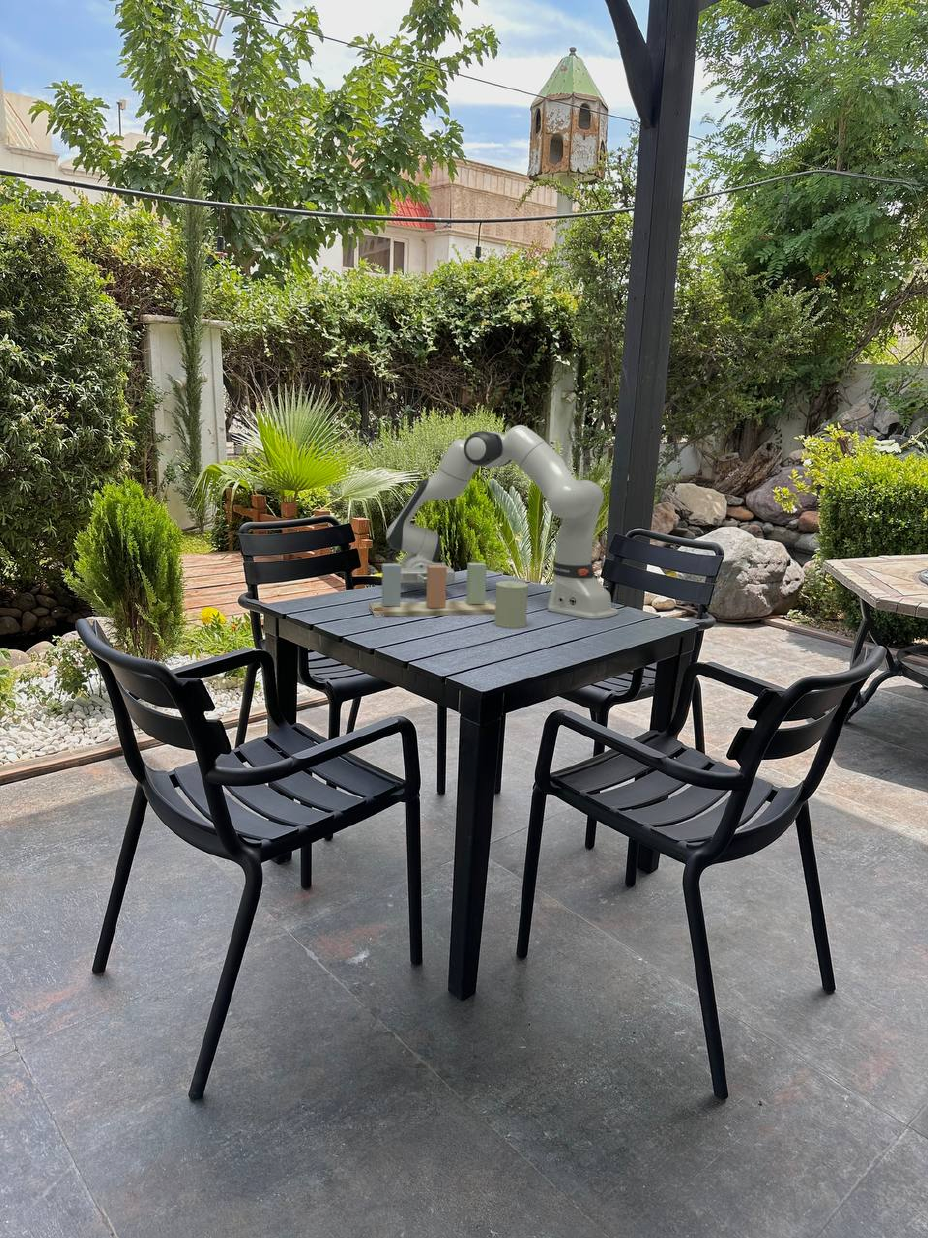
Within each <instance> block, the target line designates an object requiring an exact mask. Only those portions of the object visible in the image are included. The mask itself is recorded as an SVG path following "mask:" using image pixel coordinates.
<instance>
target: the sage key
mask: <svg viewBox="0 0 928 1238" xmlns="http://www.w3.org/2000/svg"><path fill="white" fill-rule="evenodd" d="M466 566H467V567H466V593H465V595H466V597H465V599H466V600H465V601H466V602H467V603H468V604H485V600H486V594H487V593H486V592H487V566H488V565H487V564H486V563H485V562H467V565H466Z"/></svg>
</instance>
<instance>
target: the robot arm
mask: <svg viewBox="0 0 928 1238" xmlns="http://www.w3.org/2000/svg"><path fill="white" fill-rule="evenodd" d="M512 462H514V464H516V465H517V466H518V468H519V469H520V470H521V471H522V472H523V473H524V475H526V476H527V477H528V478H529V479H530V480H531V481H532V482H533V483H534V484H535V486H536V487H537V488H538V489H539V490H540V492H541V493H542V495H543V496H544V498H545V499H546V501H547V503H548V507H549V509H550V512H551V513H552V514H553V515H554V516H556V517H558V518H560V519H562V520H561V525H560V528H559V530H558V532H557V534H556V539H555V555H554V556H555V557H554V561H553V565H552V574H553V580H552V586H551V590H550V595H549V597H548V598H549V599H548V602H547V604H546V606H547V611H549V612H553V613H558V614H563V615H568V616H573V617H578V618H584V619H589V620H590V619H591V620H592V619H593V620H596V619H605V618H609V617H614V616H616V615H618V614H619V610H618V609H616V608H614V607H612V600H611V594H610V592H609V591H608V590H607V589H606V588H605V587H604V585H602V583H601V582H600V581H599V579H597V577H595V576H596V574H595V573H596V572H598V569H599V568H598V567H594V566H593V563H592V556H593V554H592V553H593V542H594V535H595V532H596V531H595V530H596V528H597V527H596V526H597V523H598V519H599V514H600V510H601V507H602V505H603V503H604V499H605V498H604V497H605V495H604V491H603V489H602V488H601V486H600V485H598V484H597V483H596V482H594V481H591V480H589V479H588V480H587V479H582V480H578V479H576V478H575V477H574V475H573V474H572V473H571V472H570V470H569V469H568V467H567V466H566V462H565V460H564V459H563V458H562V456H560V454H558V452H556V451H555V449H553V448H552V447H551V446H550V445H549V444H548V443H547V442H546V440H545V439H543V438H542V437H541V436H540V435H538V434H537V433H536V432H535V431H533V430H532V429H530V428H529V427H527V426H525V425H522V424H519V425H518V424H517V425H514V426H513V427H511V428H509V429H508V430H507V432H506V433H503V432H496V431H492V430H487V431H485V430H481V431H479V430H478V431H475V432H473V433H472V434H470V435H468V437H467V438H466V439H456V440H454V441H452V443H451V444H450V446H449V447H448V448H447V450H446V452H445V453H444V455H443V457H442V459H441V461H440V464H439V466H438V468H437V469H436V470H435V472H434V473H433V474H432V475H431V476H429V477H427V478H422V480H421V481H420V482H419V483H418V485H417V486H416V487H415V489H414V490H413V491H412V493H411V495H410V496H409V498H408V499H407V501H406V502H405V504H404V506H403V507H402V508H401V511H400V512H398V513H399V514H398V515H397V516H396V517H395V518H394V520H393V521H392V523H391V524H390V526H389V527H388V528H387V531H386V536H385V540H386V542H387V544H388V546H389V547H390V549H392V550H397V551H400V552H404V553H406V554H405V555H404V556H403V557H402V559H401V561H400V565H401V584H411V585H413V586H416V587H423V586H427V565H444V566H445V567H447V572H446V584H448V583H450V584H451V583H455V579H456V577H455V576H456V573H455V570H454V569H452V567H451V566H449V565H447V564H446V562H442V561H437V560H438V558H439V557H440V553H441V551H442V539H441V537H440V535H439V533H438V532H437V531H433V530H431V529H429V528H426V527H422V526H419V525H416V524H413V523H411V521H412V520H413V518H414V516H415V515H416V514H417V512H418V510H419V509H420V507H422V505H423V504H424V503H427V502H429V501H430V502H431V501H437V500H438V501H439V500H440V501H448V500H449V501H450V500H454V499H458V498H459V497H460V496H462V495H463V494H464V493H465V491H466V489H467V488H468V485H469V483H470V481H471V479H472V477H473V474H474V472H475V470H476V469H477V468H478V467H485V468H497V467H505V466H507V465H509V464H510V463H512Z"/></svg>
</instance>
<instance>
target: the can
mask: <svg viewBox="0 0 928 1238" xmlns="http://www.w3.org/2000/svg"><path fill="white" fill-rule="evenodd" d="M528 591H529V584H528V583H526V582H522V581H515V580H514V581H513V580H501V581H498V582H496V583H495V602H494V603H495V614H494V622H493V624H494V625H495V626H497V627H502V628H508V629H518V628H519V629H520V628H524V627H525V626H527V612H528V611H527V610H528V607H527V606H528Z"/></svg>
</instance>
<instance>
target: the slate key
mask: <svg viewBox="0 0 928 1238" xmlns="http://www.w3.org/2000/svg"><path fill="white" fill-rule="evenodd" d="M401 584H402V583H401V563H397V562H396V563H394V562H391V563H381V603H382V604H383V606H400V602H402V601H401V593H402V592H401Z"/></svg>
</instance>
